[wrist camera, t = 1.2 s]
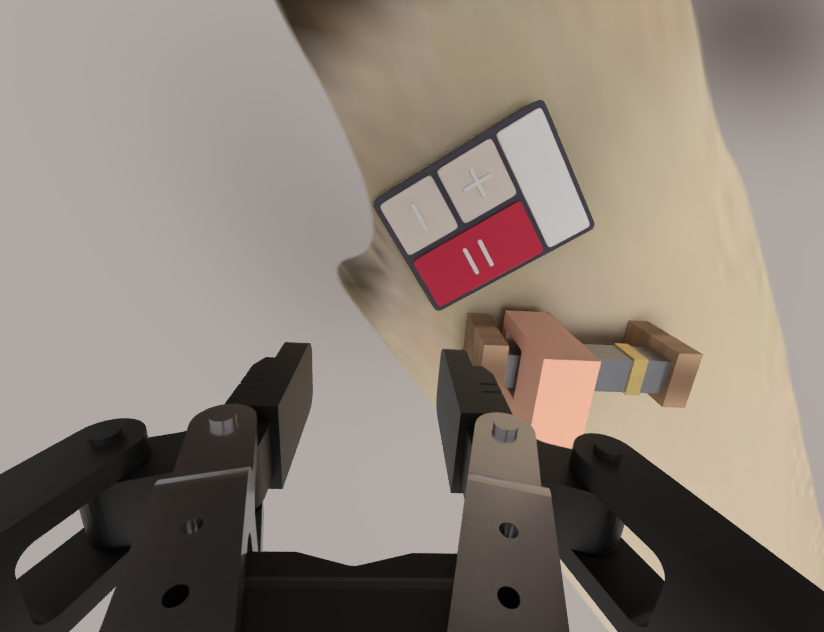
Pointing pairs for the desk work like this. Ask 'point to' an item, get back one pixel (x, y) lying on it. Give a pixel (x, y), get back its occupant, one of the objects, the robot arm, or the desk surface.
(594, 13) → the desk surface
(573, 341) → the collar
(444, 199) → the calculator
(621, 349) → the grey metal bar
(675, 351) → the stand
